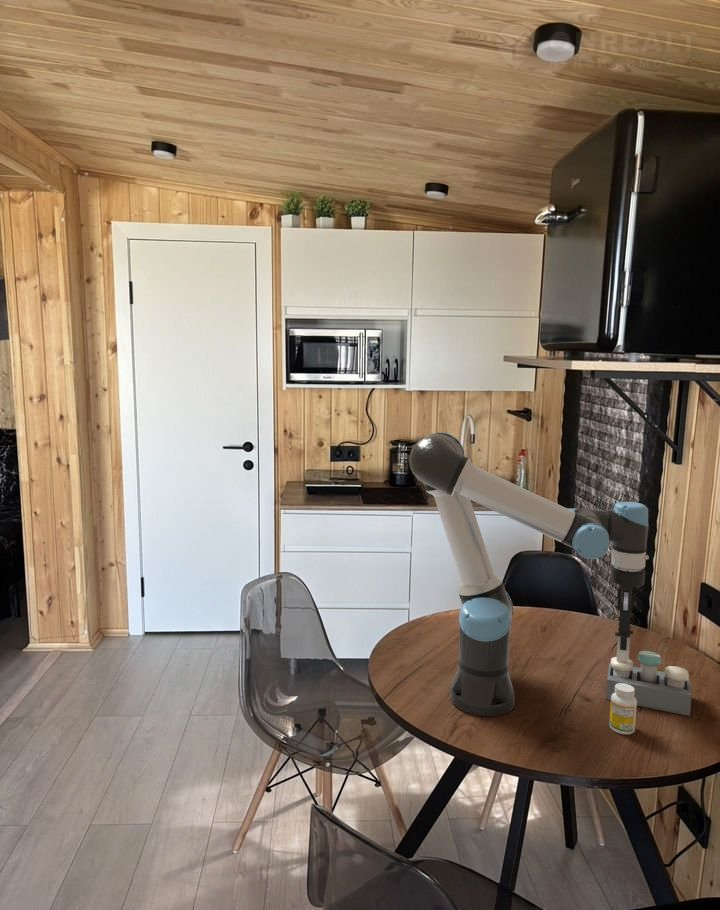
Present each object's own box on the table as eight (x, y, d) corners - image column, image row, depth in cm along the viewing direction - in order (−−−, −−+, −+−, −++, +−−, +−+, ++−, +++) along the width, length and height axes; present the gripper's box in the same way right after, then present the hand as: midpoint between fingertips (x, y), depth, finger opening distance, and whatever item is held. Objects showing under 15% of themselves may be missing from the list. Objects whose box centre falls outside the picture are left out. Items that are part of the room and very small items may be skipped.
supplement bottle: (627, 738, 136) (630, 696, 135) (604, 727, 140) (606, 686, 139) (639, 729, 139) (642, 688, 138) (616, 719, 144) (619, 679, 142)
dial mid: (659, 687, 149) (661, 660, 148) (636, 683, 151) (638, 656, 150) (659, 678, 154) (661, 652, 153) (636, 674, 156) (638, 648, 155)
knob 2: (687, 703, 147) (689, 677, 146) (663, 699, 149) (665, 673, 148) (686, 693, 152) (688, 668, 151) (663, 689, 154) (664, 664, 153)
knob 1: (631, 692, 152) (633, 667, 151) (609, 688, 154) (610, 663, 153) (631, 683, 157) (633, 659, 156) (610, 679, 159) (611, 655, 158)
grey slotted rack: (689, 716, 145) (691, 695, 144) (605, 699, 152) (607, 679, 152) (687, 696, 154) (688, 676, 153) (608, 680, 161) (609, 662, 161)
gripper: (645, 577, 144) (638, 675, 147) (645, 561, 156) (639, 652, 159) (609, 572, 147) (604, 668, 150) (612, 557, 159) (607, 647, 162)
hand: (622, 660), depth 154 cm, fingers closed
